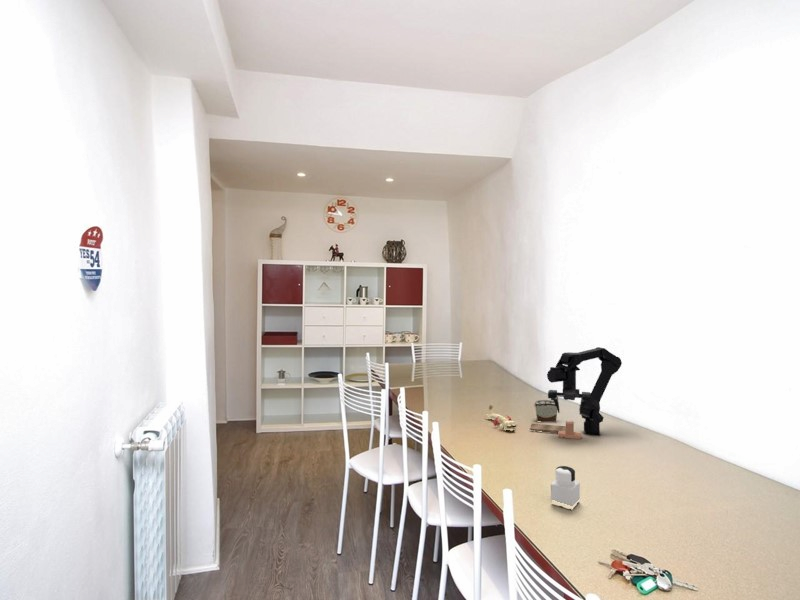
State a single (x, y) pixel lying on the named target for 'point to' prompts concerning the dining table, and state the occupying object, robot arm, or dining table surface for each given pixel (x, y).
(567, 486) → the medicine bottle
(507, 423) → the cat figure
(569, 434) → the stub
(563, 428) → the ticket board
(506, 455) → the dining table surface
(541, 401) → the food container
